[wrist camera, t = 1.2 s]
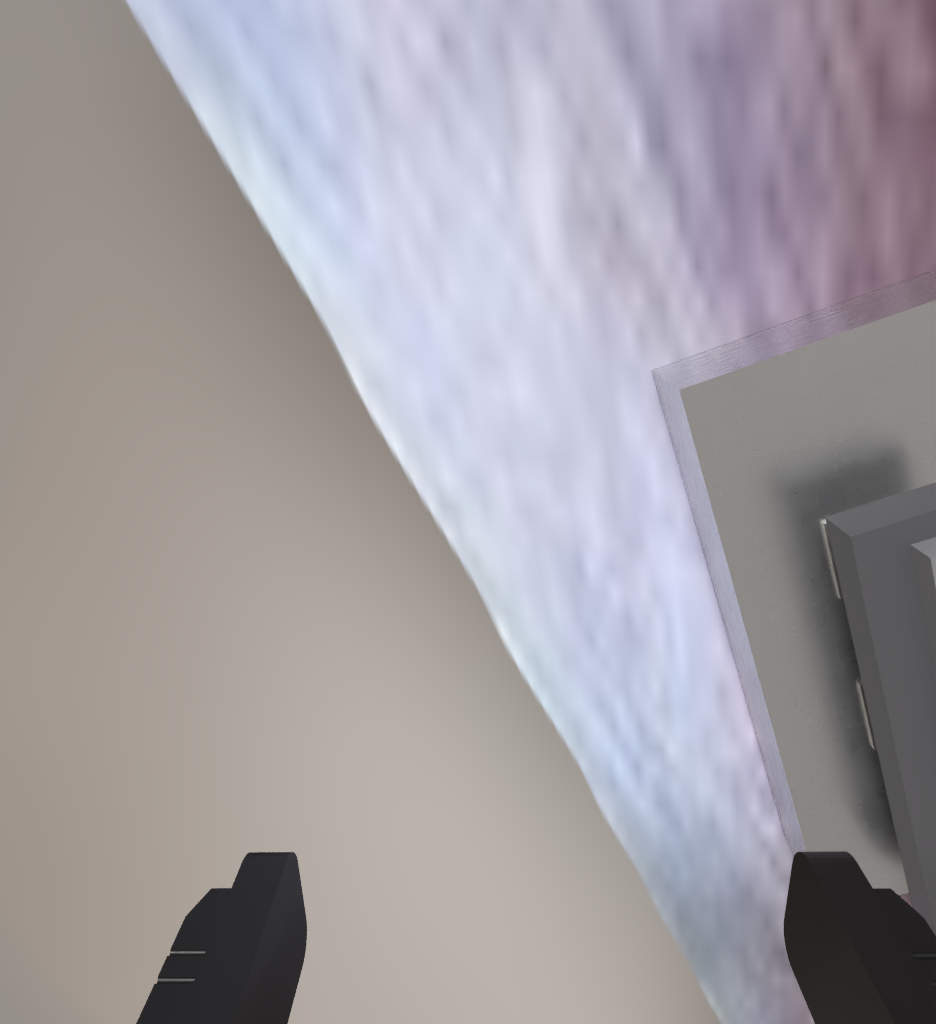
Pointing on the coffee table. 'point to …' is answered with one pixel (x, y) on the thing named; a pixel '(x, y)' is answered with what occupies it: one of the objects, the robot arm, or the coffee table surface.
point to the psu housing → (807, 534)
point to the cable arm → (898, 661)
